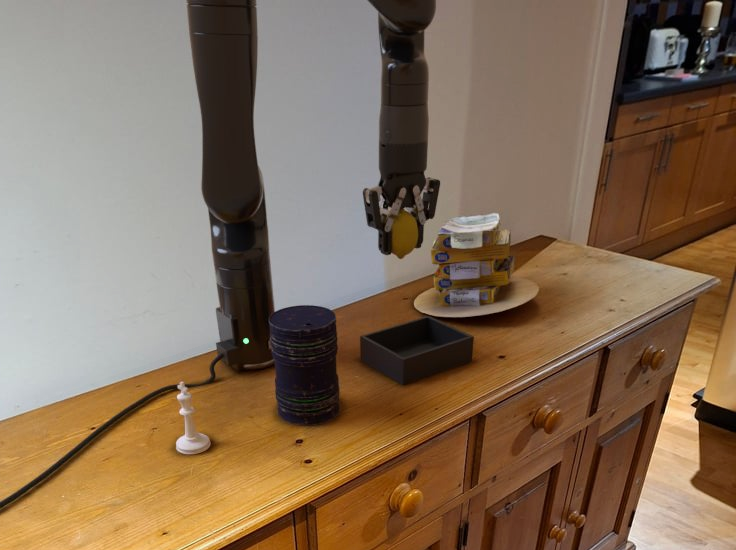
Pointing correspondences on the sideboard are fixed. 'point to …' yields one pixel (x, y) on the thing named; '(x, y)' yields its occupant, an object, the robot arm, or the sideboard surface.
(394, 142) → the robot arm
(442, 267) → the plate of stacked packets
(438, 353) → the bin
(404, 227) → the lemon
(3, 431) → the sideboard surface
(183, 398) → the chess piece
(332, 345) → the storage jar
